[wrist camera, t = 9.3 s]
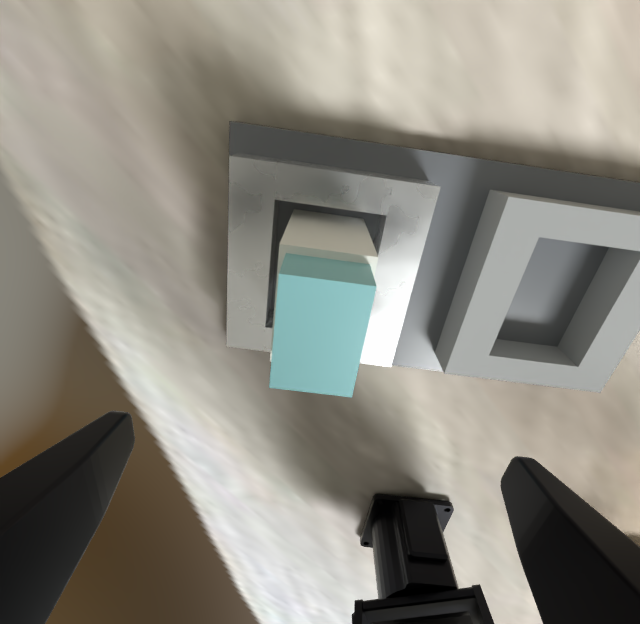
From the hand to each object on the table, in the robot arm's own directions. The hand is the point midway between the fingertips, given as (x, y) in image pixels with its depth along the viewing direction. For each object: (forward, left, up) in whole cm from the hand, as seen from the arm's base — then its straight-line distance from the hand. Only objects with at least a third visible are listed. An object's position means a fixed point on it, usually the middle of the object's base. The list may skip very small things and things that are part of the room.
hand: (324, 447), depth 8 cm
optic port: (0, 0, -13) cm, 13 cm away
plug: (0, 0, -12) cm, 12 cm away
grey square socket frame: (0, -12, -13) cm, 17 cm away
